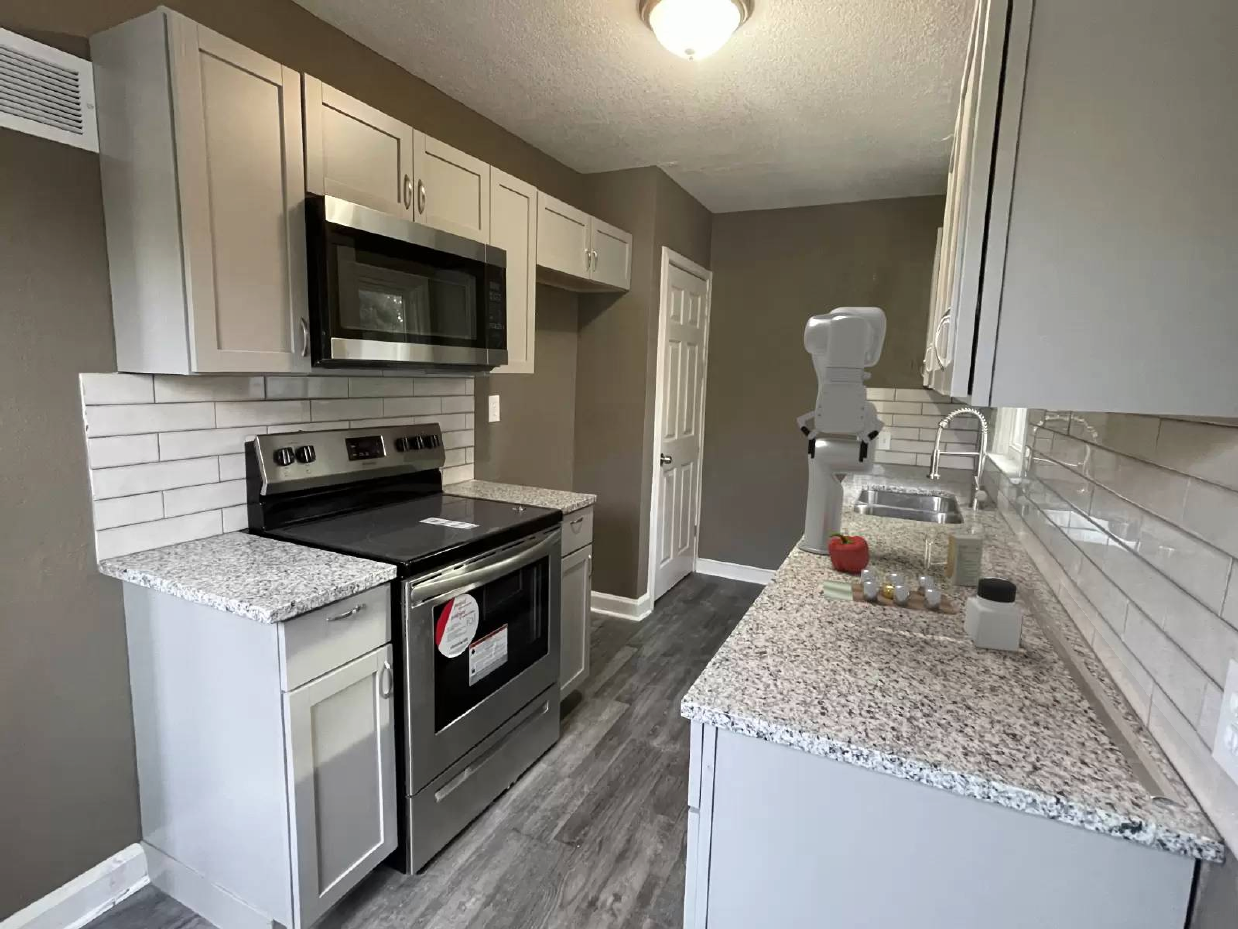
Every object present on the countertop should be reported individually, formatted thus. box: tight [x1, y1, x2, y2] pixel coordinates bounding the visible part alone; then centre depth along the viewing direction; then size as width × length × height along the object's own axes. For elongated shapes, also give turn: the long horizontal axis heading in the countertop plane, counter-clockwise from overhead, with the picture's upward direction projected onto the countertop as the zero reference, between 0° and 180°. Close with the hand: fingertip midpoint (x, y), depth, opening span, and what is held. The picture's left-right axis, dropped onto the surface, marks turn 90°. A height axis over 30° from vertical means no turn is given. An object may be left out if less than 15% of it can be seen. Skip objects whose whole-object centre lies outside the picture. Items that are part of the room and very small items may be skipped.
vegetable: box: [828, 532, 870, 574], centre depth 157 cm, size 11×10×10 cm
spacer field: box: [859, 567, 942, 611], centre depth 137 cm, size 12×15×4 cm
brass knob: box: [882, 581, 897, 600], centre depth 137 cm, size 4×4×2 cm
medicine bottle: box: [963, 576, 1024, 653], centre depth 115 cm, size 7×7×12 cm
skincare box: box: [944, 533, 984, 588], centre depth 149 cm, size 6×4×12 cm
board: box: [822, 579, 958, 616], centre depth 138 cm, size 13×26×1 cm, turn 72°
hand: (836, 459), depth 131 cm, fingers open, 9 cm apart
